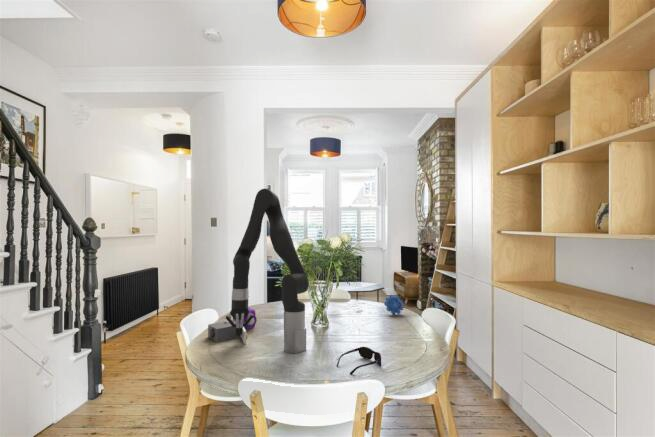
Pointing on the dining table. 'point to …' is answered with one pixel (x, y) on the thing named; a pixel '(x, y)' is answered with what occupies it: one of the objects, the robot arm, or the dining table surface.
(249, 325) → the toy camera
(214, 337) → the camera case
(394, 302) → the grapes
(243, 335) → the side door
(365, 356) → the sunglasses
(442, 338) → the dining table surface
